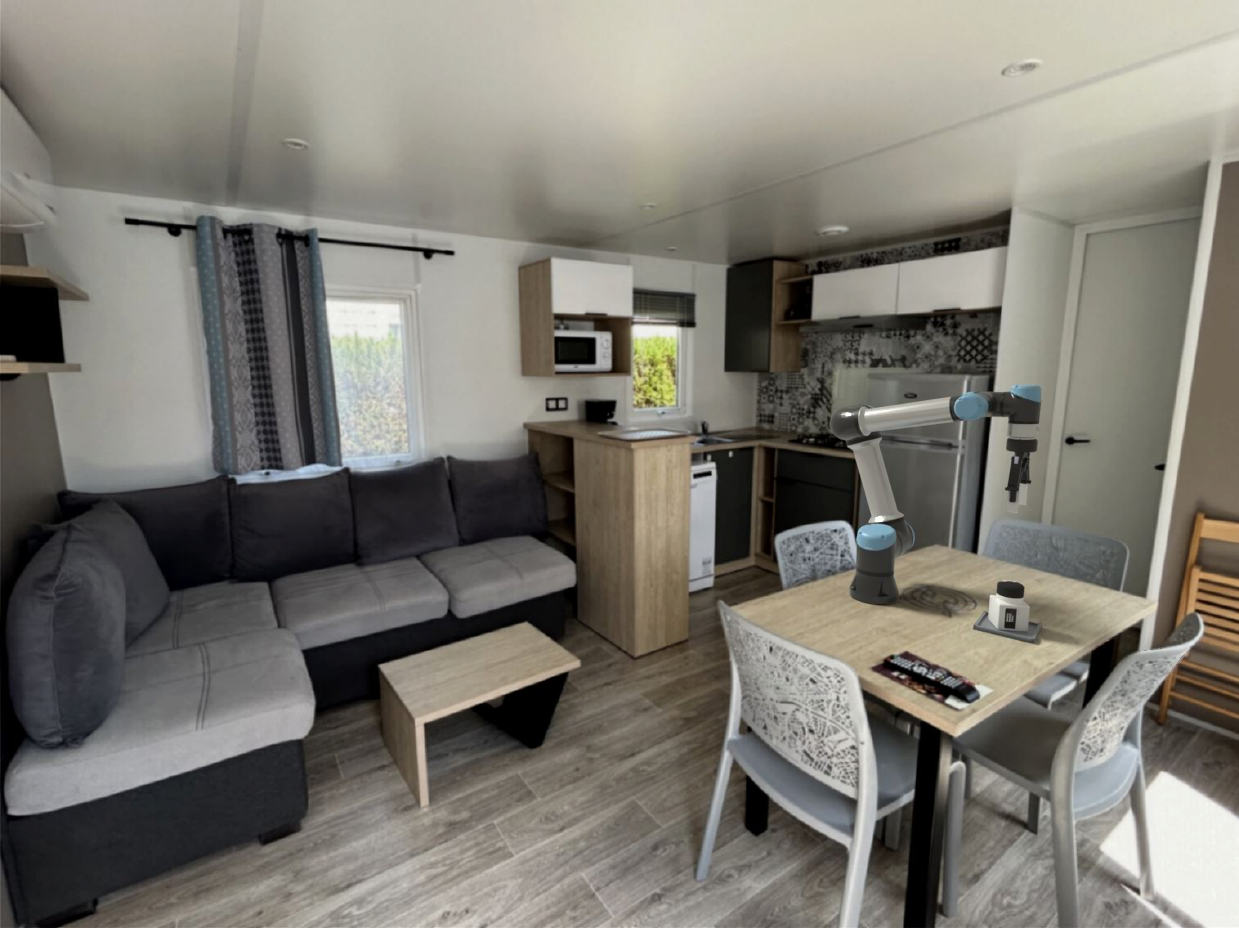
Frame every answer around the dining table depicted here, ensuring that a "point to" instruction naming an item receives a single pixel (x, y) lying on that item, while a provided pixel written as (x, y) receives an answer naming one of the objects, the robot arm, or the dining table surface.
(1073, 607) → the dining table surface
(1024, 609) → the container
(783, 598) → the dining table surface
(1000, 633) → the tray
